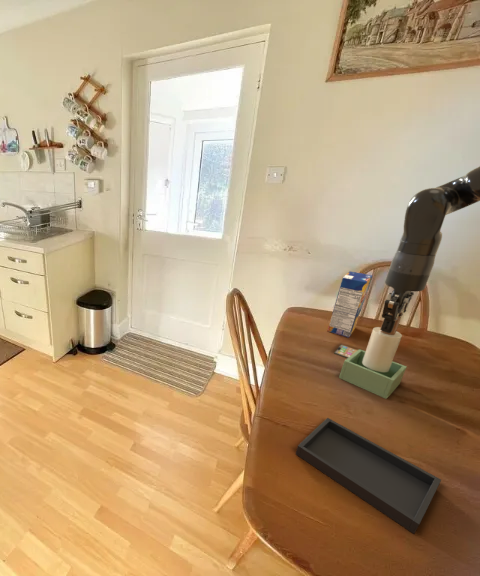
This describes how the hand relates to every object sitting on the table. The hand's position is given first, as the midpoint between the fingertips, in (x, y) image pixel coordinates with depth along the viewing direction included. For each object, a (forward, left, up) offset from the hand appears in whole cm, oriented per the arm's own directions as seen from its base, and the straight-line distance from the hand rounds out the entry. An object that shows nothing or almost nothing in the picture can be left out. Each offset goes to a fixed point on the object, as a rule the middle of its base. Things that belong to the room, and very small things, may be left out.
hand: (388, 329), depth 85 cm
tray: (-10, +36, -18) cm, 41 cm away
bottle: (0, 0, -12) cm, 12 cm away
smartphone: (+5, -13, -18) cm, 23 cm away
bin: (0, 0, -18) cm, 18 cm away
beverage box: (+18, -31, -18) cm, 40 cm away
